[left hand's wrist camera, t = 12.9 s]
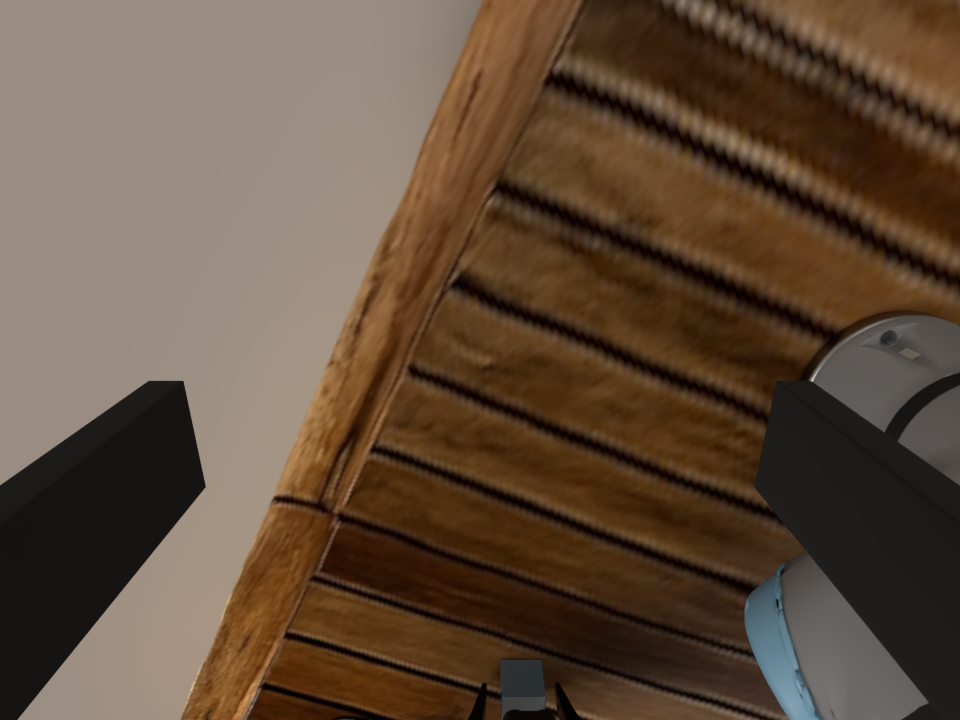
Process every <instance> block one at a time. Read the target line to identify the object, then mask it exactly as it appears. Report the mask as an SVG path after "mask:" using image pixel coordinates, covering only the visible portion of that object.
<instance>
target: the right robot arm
mask: <svg viewBox="0 0 960 720" xmlns="http://www.w3.org/2000/svg"><path fill="white" fill-rule="evenodd" d="M555 696H556V705H557V710H558V715H559V720H581V719H580V717H579V716H578V715H577V713H576V712H575V710H574V708H573V707H572V705H571V703H570V701H569V700H568V698H567V696H566V694H565V693H564V691H563V689H562V687H561V686H560V684H559V683H555ZM486 700H487V688H486V683H483V684H482V686H481V689H480V692H479V694H478V697H477V700H476V702H475V705H474V707H473V710H472V712H471V714H470V716H469V718H468V720H485V714H486ZM503 720H556V719H555V716H554V714H553V713H552V712H551V711H549V710H546V709H540V710H539V711H520V710H518V709H513V710H509V711H507V712H506V713H505V715H504V717H503Z"/></svg>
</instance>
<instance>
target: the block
mask: <svg viewBox="0 0 960 720" xmlns="http://www.w3.org/2000/svg"><path fill="white" fill-rule="evenodd" d="M545 705H546V694H545V685H544V677H543V669H542V660H541V659H501V660H500V712H501V720H503V717H504V715H505V713H506V712H507V711H509V710H513V709H518V710H520V711H539V710H540V709H545Z"/></svg>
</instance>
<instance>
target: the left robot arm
mask: <svg viewBox="0 0 960 720" xmlns="http://www.w3.org/2000/svg"><path fill="white" fill-rule="evenodd" d="M205 487H206V486H205V481H204V476H203V472H202V467H201V462H200V457H199V453H198V448H197V443H196V439H195V434H194V429H193V424H192V419H191V415H190V410H189V405H188V401H187V396H186V391H185V386H184V382H183V381H148V382H147V383H145V384H144V385H142V386H141V387H139V388H138V389H137V390H135V391H134V392H132V393H131V394H130V395H128V396H127V397H125V398H124V399H122V400H121V401H120V402H118V403H117V404H115V405H114V406H112V407H111V408H110V409H108V410H107V411H105V412H104V413H103V414H101V415H100V416H98V417H97V418H95V419H94V420H93V421H91V422H90V423H88V424H87V425H85V426H84V427H83V428H81V429H80V430H78V431H77V432H75V433H74V434H73V435H71V436H70V437H68V438H67V439H66V440H64V441H63V442H61V443H60V444H58V445H57V446H56V447H54V448H53V449H51V450H50V451H48V452H47V453H46V454H44V455H43V456H41V457H40V458H39V459H37V460H36V461H34V462H33V463H31V464H30V465H29V466H27V467H26V468H24V469H23V470H22V471H20V472H19V473H17V474H16V475H14V476H13V477H11V478H10V479H9V480H7V481H6V482H4V483H3V484H2V485H0V720H17V719H18V718H19V717H20V716H21V714H22V713H23V712H24V711H25V710H26V708H27V707H28V706H29V705H30V703H31V702H32V701H33V700H34V698H35V697H36V696H37V695H38V694H39V692H40V691H41V690H42V689H43V687H44V686H45V685H46V684H47V682H48V681H49V680H50V679H51V677H52V676H53V675H54V674H55V673H56V671H57V670H58V669H59V668H60V666H61V665H62V664H63V663H64V661H65V660H66V659H67V658H68V656H69V655H70V654H71V653H72V652H73V650H74V649H75V648H76V647H77V645H78V644H79V643H80V642H81V640H82V639H83V638H84V637H85V635H86V634H87V633H88V632H89V631H90V629H91V628H92V627H93V626H94V624H95V623H96V622H97V621H98V619H99V618H100V617H101V616H102V614H103V613H104V612H105V611H106V609H107V608H108V607H109V606H110V605H111V603H112V602H113V601H114V600H115V598H116V597H117V596H118V595H119V593H120V592H121V591H122V590H123V588H124V587H125V586H126V585H127V584H128V582H129V581H130V580H131V579H132V577H133V576H134V575H135V574H136V572H137V571H138V570H139V569H140V567H141V566H142V565H143V564H144V563H145V561H146V560H147V559H148V558H149V556H150V555H151V554H152V553H153V551H154V550H155V549H156V548H157V546H158V545H159V544H160V543H161V542H162V540H163V539H164V538H165V537H166V535H167V534H168V533H169V532H170V530H171V529H172V528H173V527H174V525H175V524H176V523H177V522H178V520H179V519H180V518H181V517H182V516H183V514H184V513H185V512H186V511H187V509H188V508H189V507H190V506H191V504H192V503H193V502H194V501H195V500H196V498H197V497H198V496H199V495H200V493H201V492H202V491H203V490H204V488H205ZM754 487H755V488H756V490H757V491H758V492H759V493H760V495H761V496H762V497H763V498H764V500H765V501H766V502H767V503H768V504H769V506H770V507H771V508H772V509H773V511H774V512H775V513H776V514H777V516H778V517H779V518H780V519H781V521H782V522H783V523H784V524H785V525H786V527H787V528H788V529H789V530H790V532H791V533H792V534H793V535H794V537H795V538H796V539H797V540H798V542H799V543H800V544H801V545H802V546H803V548H804V549H805V551H803V552H802V553H800V554H799V555H798V556H796V557H795V558H793V559H792V560H791V561H788V562H783V563H782V564H781V565H780V566H779V567H778V568H777V570H776V573H775V574H773V575H772V576H771V577H770V578H768V579H767V580H766V581H765V582H764V583H762V584H761V585H760V586H759V587H757V588H756V589H755V590H754V591H753V592H752V593H751V594H750V595H749V597H748V599H747V601H746V605H745V611H744V612H745V627H746V631H747V635H748V639H749V642H750V645H751V648H752V650H753V653H754V655H755V658H756V660H757V662H758V664H759V666H760V668H761V670H762V673H763V675H764V677H765V678H766V680H767V682H768V684H769V686H770V688H771V690H772V691H773V693H774V695H775V697H776V698H777V700H778V702H779V703H780V705H781V707H782V708H783V710H784V712H785V713H786V715H787V716H788V718H789V719H790V720H960V327H959V326H958V325H956V324H954V323H952V322H950V321H947V320H944V319H942V318H939V317H936V316H933V315H930V314H927V313H923V312H916V311H894V312H888V313H883V314H879V315H875V316H872V317H869V318H866V319H864V320H862V321H859V322H857V323H855V324H853V325H852V326H850V327H848V328H846V329H845V330H843V331H842V332H840V333H839V334H837V335H836V336H835V337H833V338H832V339H831V340H830V341H829V342H828V343H826V344H825V345H824V346H823V347H822V348H821V350H820V351H819V352H818V353H817V354H816V355H815V356H814V358H813V359H812V360H811V362H810V363H809V365H808V366H807V368H806V370H805V371H804V373H803V375H802V378H801V380H800V381H777V382H776V386H775V391H774V396H773V401H772V405H771V410H770V415H769V419H768V424H767V429H766V434H765V438H764V443H763V448H762V453H761V457H760V462H759V467H758V472H757V476H756V481H755V486H754Z"/></svg>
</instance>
